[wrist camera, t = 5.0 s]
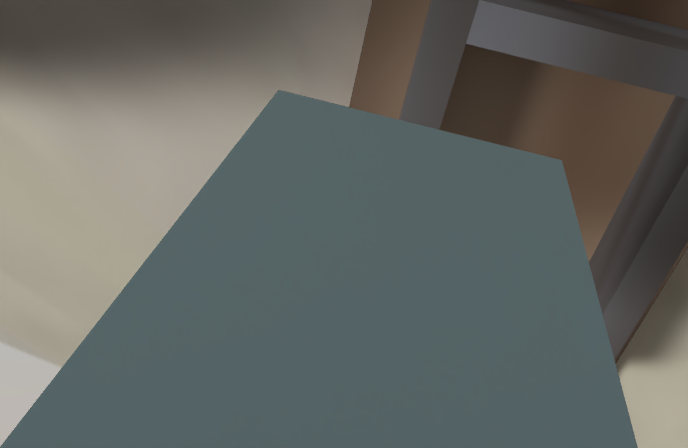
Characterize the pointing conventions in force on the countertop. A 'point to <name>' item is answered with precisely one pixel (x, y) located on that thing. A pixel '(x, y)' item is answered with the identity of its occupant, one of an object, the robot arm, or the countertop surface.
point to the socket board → (558, 114)
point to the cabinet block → (352, 304)
